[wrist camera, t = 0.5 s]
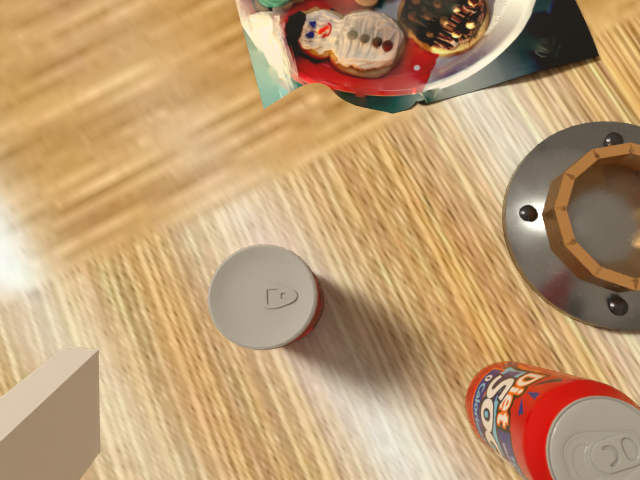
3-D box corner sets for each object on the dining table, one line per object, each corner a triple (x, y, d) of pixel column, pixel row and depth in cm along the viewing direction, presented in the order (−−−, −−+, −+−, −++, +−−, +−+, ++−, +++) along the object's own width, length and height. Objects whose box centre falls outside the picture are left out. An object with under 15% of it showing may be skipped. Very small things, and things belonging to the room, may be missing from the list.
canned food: (335, 326, 40) (332, 329, 29) (256, 354, 40) (223, 367, 29) (309, 251, 42) (297, 227, 31) (233, 278, 42) (194, 264, 31)
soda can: (566, 434, 37) (710, 508, 23) (483, 464, 37) (573, 557, 23) (529, 348, 39) (641, 364, 24) (448, 376, 39) (512, 410, 24)
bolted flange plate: (766, 236, 40) (807, 228, 36) (612, 375, 38) (639, 381, 35) (606, 88, 43) (628, 68, 40) (459, 210, 42) (469, 200, 38)
